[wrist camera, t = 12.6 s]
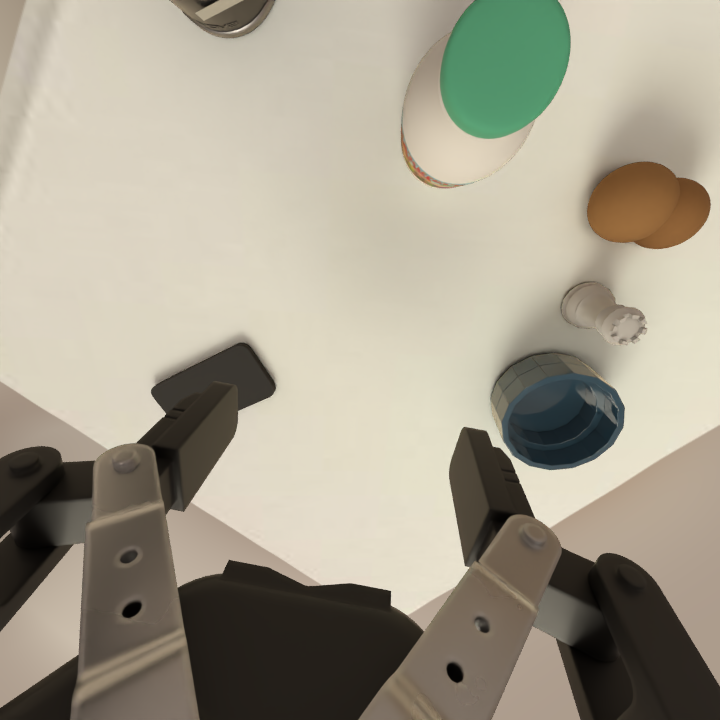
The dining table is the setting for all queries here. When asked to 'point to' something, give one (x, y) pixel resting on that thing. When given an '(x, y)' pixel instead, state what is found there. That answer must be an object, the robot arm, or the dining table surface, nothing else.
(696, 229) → the potato
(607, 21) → the dining table surface
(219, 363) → the phone
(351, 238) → the dining table surface
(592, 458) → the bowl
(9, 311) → the dining table surface
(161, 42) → the dining table surface
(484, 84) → the milk bottle
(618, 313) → the rook chess piece
